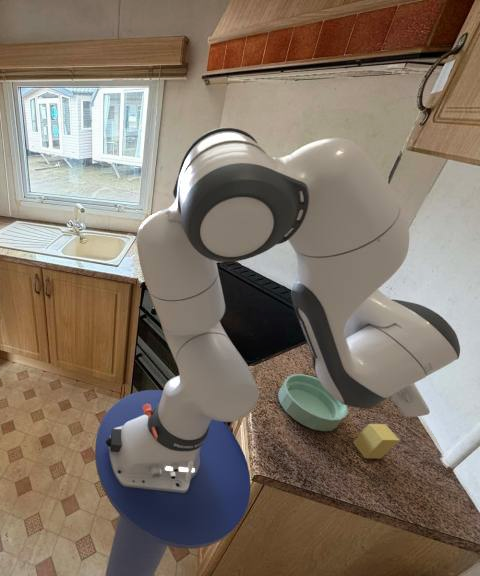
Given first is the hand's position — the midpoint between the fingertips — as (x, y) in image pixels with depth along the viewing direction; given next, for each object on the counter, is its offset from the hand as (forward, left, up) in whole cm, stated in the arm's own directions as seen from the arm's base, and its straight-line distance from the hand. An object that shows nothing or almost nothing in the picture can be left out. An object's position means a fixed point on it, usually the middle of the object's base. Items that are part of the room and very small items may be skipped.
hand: (403, 384), depth 63 cm
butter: (+8, 0, -26) cm, 27 cm away
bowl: (+1, +13, -26) cm, 29 cm away
